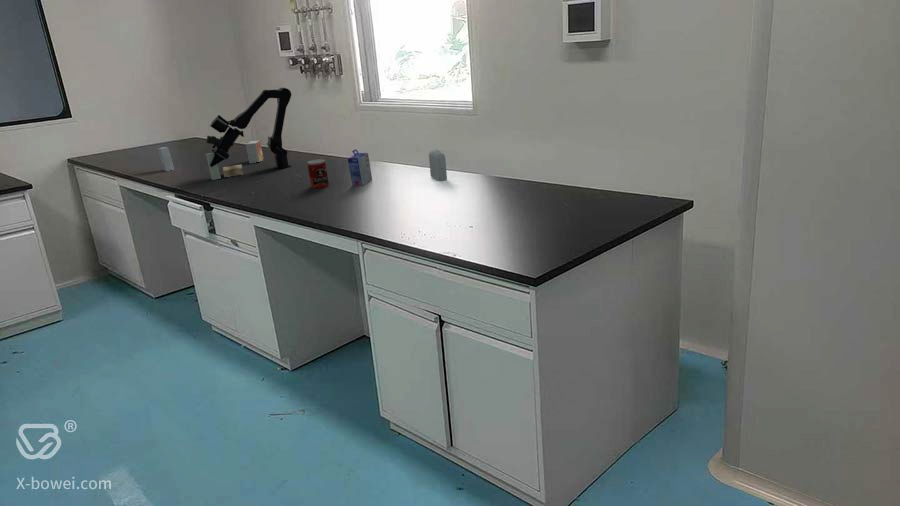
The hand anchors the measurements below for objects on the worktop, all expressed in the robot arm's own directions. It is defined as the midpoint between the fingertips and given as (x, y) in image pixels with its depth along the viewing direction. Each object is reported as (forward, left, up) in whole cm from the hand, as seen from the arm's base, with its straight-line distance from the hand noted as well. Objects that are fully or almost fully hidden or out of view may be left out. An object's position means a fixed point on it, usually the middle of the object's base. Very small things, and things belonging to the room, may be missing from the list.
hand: (210, 165), depth 303 cm
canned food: (-65, -16, -7) cm, 67 cm away
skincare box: (+47, +1, -7) cm, 48 cm away
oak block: (-2, -10, -7) cm, 13 cm away
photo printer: (-106, -48, -7) cm, 116 cm away
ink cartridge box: (-79, -28, -7) cm, 84 cm away
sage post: (-1, -1, -7) cm, 7 cm away
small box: (+15, -33, -7) cm, 37 cm away
